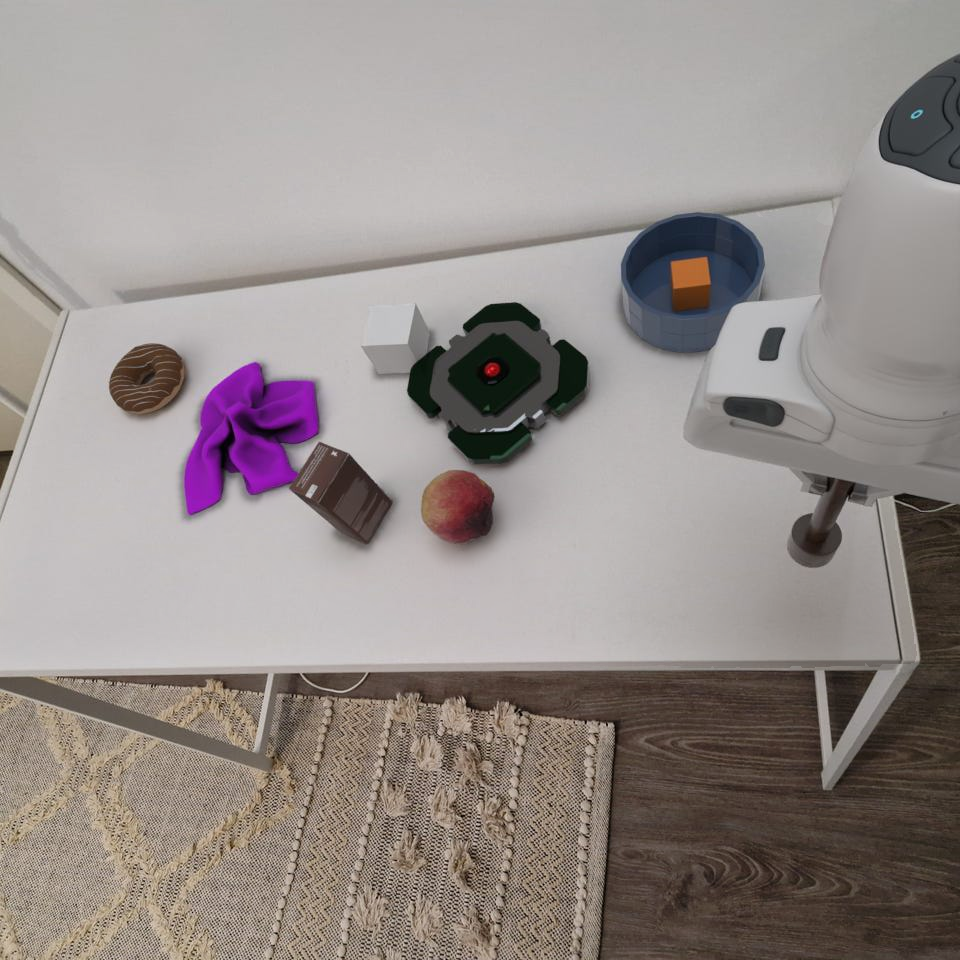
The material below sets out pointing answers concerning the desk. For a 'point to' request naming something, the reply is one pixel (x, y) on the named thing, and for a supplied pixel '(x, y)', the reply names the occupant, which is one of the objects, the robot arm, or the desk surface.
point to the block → (690, 284)
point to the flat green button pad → (498, 382)
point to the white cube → (395, 337)
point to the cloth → (248, 434)
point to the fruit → (458, 506)
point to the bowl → (649, 278)
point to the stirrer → (820, 527)
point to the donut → (136, 368)
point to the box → (341, 492)
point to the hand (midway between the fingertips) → (836, 489)
